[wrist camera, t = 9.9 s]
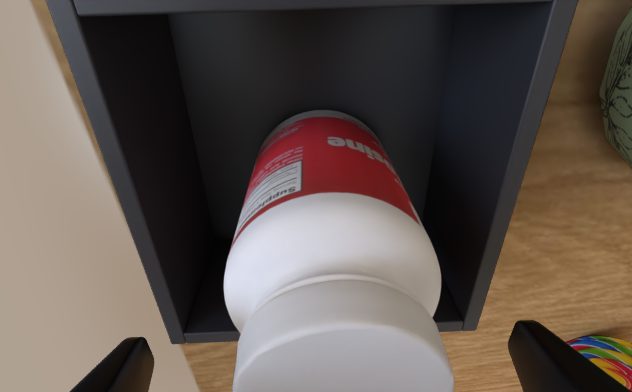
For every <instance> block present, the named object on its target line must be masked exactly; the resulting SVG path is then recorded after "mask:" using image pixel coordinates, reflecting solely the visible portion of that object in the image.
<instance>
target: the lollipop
mask: <svg viewBox="0 0 632 392" xmlns="http://www.w3.org/2000/svg"><path fill="white" fill-rule="evenodd" d="M566 343H567V344H569V345H570V346H571V347H573V348H574V349H575V350H577V351H578V352H579V353H581V354H582V355H583V356H585V357H586V358H587V359H589V360H590V361H591V362H593V363H594V364H596V365H597V366H598V367H600V368H601V369H602V370H604V371H605V372H606V373H608V374H609V375H610V376H612V377H613V378H614V379H616V380H617V381H618V382H620V383H621V384H622V385H624V386H625V387H627V388H628V389H629V390H631V391H632V343H630V342H627V341H623V340H620V339H616V338H610V337H602V336H590V337H583V338H577V339H574V340H572V341H569V342H566Z"/></svg>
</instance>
